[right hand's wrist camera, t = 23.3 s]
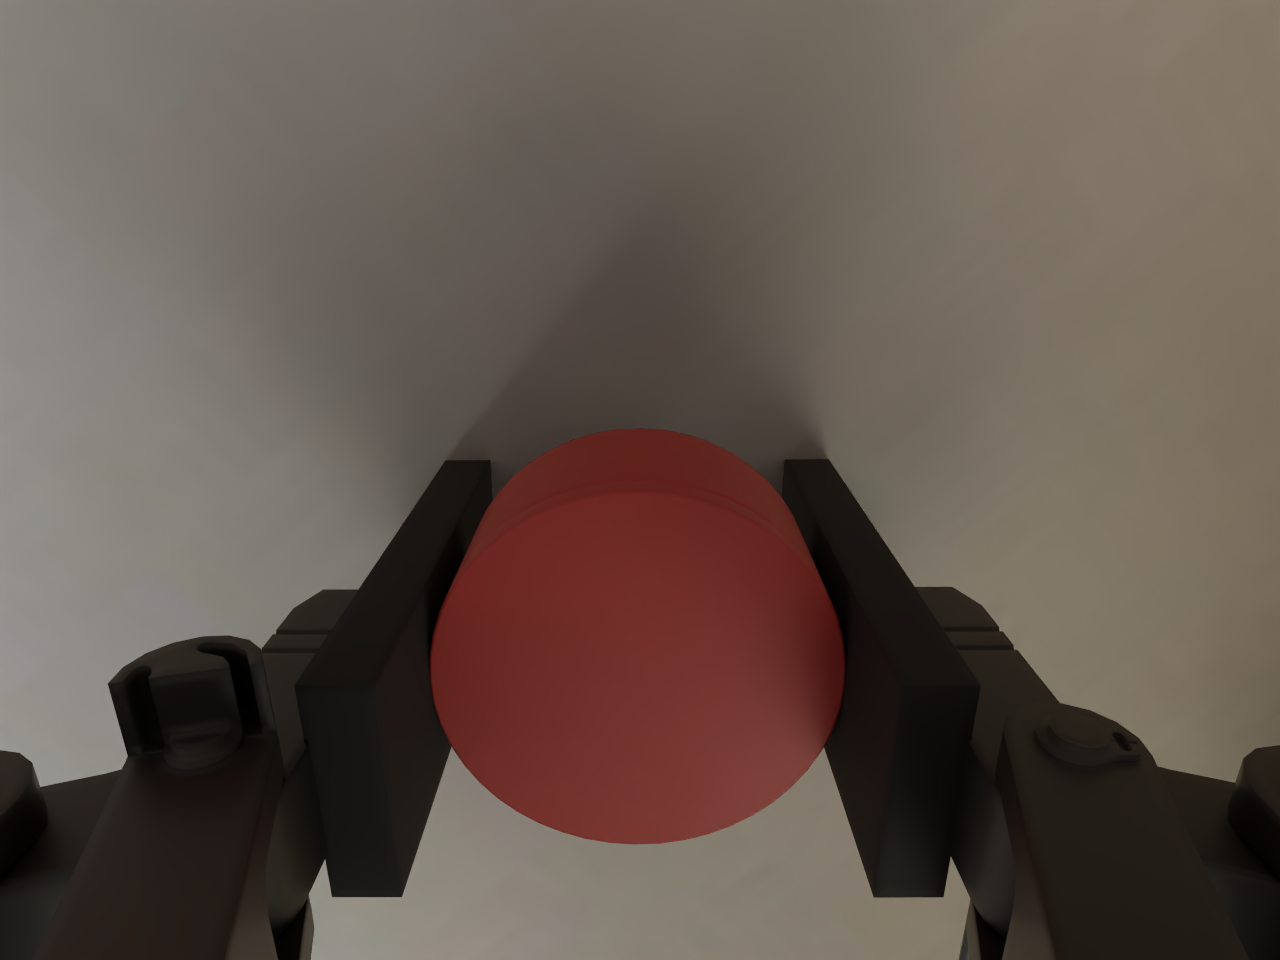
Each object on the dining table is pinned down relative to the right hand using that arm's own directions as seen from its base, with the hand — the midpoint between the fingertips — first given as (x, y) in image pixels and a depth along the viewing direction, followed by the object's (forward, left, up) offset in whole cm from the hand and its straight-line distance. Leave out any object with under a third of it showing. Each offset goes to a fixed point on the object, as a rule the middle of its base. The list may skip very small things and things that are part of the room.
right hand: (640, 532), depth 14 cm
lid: (0, 0, +4) cm, 4 cm away
